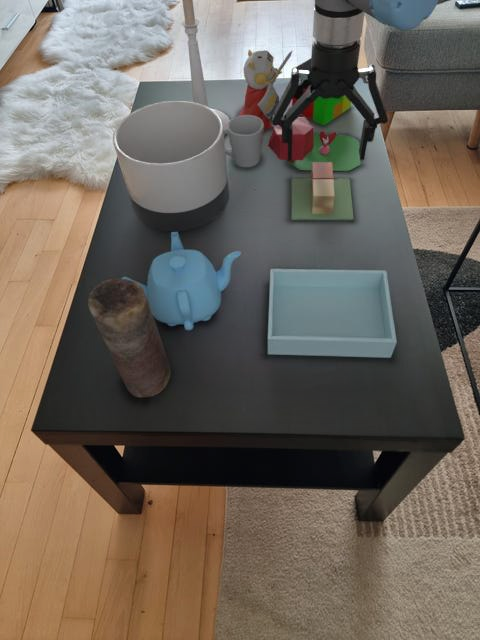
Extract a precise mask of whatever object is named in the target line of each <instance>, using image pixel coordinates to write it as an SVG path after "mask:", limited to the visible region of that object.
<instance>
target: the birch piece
mask: <svg viewBox="0 0 480 640" xmlns="http://www.w3.org/2000/svg"><path fill="white" fill-rule="evenodd" d="M333 179H334V178H333ZM333 179H313V183H312V195H311V204H312V214H332V213H333V205H334V198H335V193H334V180H333Z"/></svg>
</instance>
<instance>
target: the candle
mask: <svg viewBox="0 0 480 640" xmlns="http://www.w3.org/2000/svg"><path fill="white" fill-rule="evenodd" d="M135 281H136V280H134V281H131V280H128V279H122V278H110V279H106V280H103V281H102V282H100V283H99V284H97V285H96V286H95V287H94V288H93V289H92V290H91V291H90V292H89V296H88V300H87V305H88V310H89V313H90V314H91V316H92V318H93V319H92V320H93V321H94V323H95V325H96V327H97V329H98V331H99V333H100V335H101V337H102V339H103V341H104V343H105V345H106V347H107V349H108V351H109V353H110V355H111V358H112V360H113V363H114V364H115V367H116V369H117V371H118V373H119V375H120V377H121V379H122V381H123V384H124V385H125V387H126V390H127V391H128V392H129V394H131V395H132V396H134V397H136V398H150V397H155V396H156V395H158V394H160V393H162V392H163V390H164V389H166V387H167V386H168V383H169V380H170V379H171V374H172V369H171V365H170V362H169V358H168V355H167V353H166V349H165V347H164V344H163V341H162V339H161V335H160V333H159V329H158V327H157V324H156V321H155V317H154V316H153V314H152V312H151V309H150V306H149V302H148V299H147V297H146V293H145V291H144V289H143V288H142V287H141V285H140V284H138V283H137V282H138V281H136V282H135Z"/></svg>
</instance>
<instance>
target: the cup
mask: <svg viewBox="0 0 480 640" xmlns="http://www.w3.org/2000/svg"><path fill="white" fill-rule="evenodd" d="M229 120H230V121H229V123H228V125H227V126H226V127H224V128H223V130H224V133H226V135H228V139H229V144H230V149H229V148H227V147H225V153H226V156H229V157H231V158H233V160H234V163H235V164H236V166H239V167H241V168H251V167H254V166H257V164H259V163H260V161H261V155H262V149H263V141H264V139H263V138H264V130H263V129H264V123H263V121H262V120H261V119H260V118H259V117H256V116H253V115H241V116H239V115H237V116H235V117H233V118H231V119H229Z"/></svg>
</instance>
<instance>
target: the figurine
mask: <svg viewBox="0 0 480 640" xmlns="http://www.w3.org/2000/svg"><path fill="white" fill-rule="evenodd" d="M292 54H293V50H291V51H289V53H288V54H287V55H286V57H285V58H284V59H283V61H282V63H281V64H280V65H279V67H278V68H277V67H275V66H274V60H275V59H274V56H273V55H272V53H270V51H269V50H268V49H267V50H266V49H265V50H264V49H263V50H257V51H252V50H251V49H248V51H247V55H248V57H247V58H246V60H245V62H244V66H243V77H244V80H245V82H246V84H247V85H246V86H247V87H246V91H245V96H244V105H243V108H242V110H240V112H239V115H238V116H241V115H253V116H256V117H259V118H260V119H261V120H262V121H263V123H264V129H263V131H266V130H269V129H273V124H272V122H271V118H272V115H273V112H274V111H275V109H276V107H277V105H278V103H279V101H280V96H279V94H278V93H277V91H276V89H275V88H274V84H275V82H276V81H277V79H278V77H279V75H281V74H283V71H282V70H283V69H284V67H285V66H286V64H287V62H288V61H289V59H290V58H291V57H292Z"/></svg>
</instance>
